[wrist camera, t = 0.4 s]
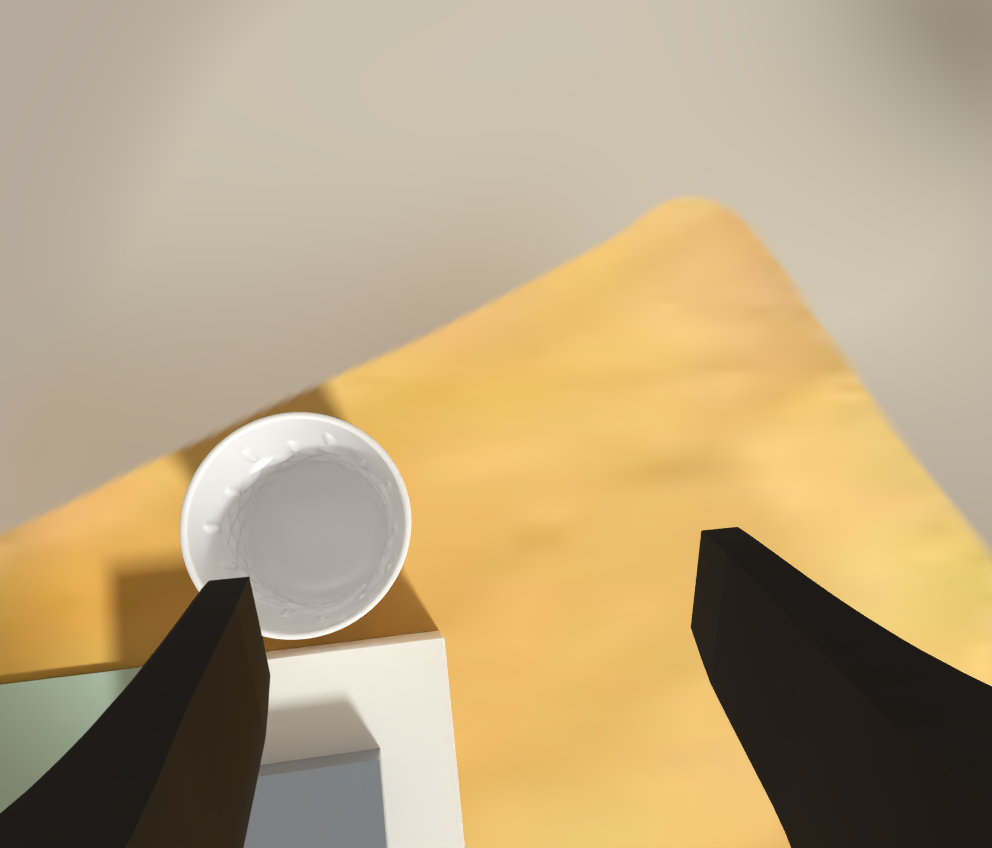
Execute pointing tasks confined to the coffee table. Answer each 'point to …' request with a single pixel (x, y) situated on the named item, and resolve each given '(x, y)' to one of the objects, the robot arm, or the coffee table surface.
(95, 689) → the mat
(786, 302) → the coffee table surface
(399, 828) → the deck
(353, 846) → the gray rectangular block
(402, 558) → the white cup
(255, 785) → the robot arm
